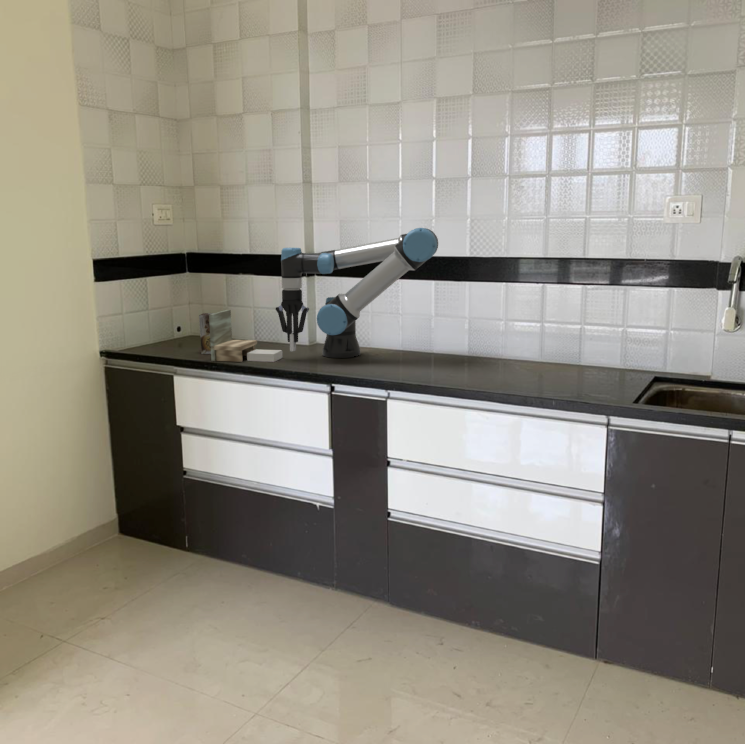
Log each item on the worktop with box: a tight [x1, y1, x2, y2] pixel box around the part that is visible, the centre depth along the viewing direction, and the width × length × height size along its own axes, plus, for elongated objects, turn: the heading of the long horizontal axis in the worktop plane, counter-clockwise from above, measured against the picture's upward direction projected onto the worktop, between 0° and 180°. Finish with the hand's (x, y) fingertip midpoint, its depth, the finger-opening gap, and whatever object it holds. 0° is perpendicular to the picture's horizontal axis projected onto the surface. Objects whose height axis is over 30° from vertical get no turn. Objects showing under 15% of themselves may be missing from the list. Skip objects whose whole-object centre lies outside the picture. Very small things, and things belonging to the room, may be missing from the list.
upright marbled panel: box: [209, 309, 258, 363], centre depth 288 cm, size 12×16×18 cm
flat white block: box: [246, 348, 283, 363], centre depth 287 cm, size 11×9×3 cm
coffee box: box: [198, 312, 214, 355], centre depth 301 cm, size 9×6×16 cm
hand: (293, 350), depth 283 cm, fingers closed
